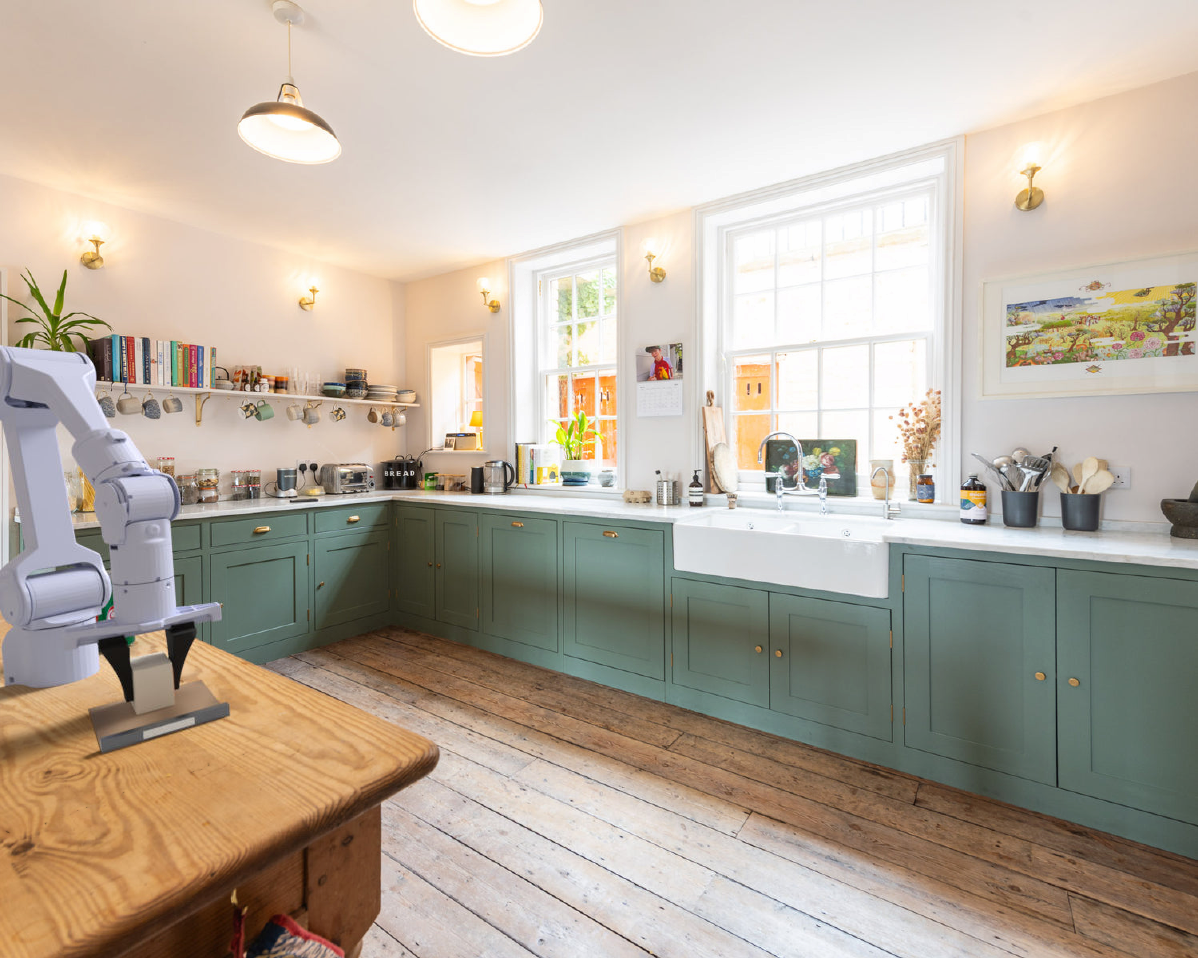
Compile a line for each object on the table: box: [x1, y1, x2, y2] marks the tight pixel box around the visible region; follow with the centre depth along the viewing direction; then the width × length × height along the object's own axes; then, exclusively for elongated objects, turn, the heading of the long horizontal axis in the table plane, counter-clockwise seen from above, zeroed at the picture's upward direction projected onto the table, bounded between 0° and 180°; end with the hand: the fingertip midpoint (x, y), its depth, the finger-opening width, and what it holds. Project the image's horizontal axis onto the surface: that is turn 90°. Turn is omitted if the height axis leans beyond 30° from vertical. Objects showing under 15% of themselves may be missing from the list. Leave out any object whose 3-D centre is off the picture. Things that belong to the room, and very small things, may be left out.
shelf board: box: [88, 679, 231, 754], centre depth 67 cm, size 11×14×2 cm
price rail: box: [99, 701, 231, 754], centre depth 62 cm, size 11×1×1 cm, turn 135°
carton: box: [130, 650, 175, 715], centre depth 69 cm, size 6×4×5 cm
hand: (152, 693), depth 69 cm, fingers closed on carton, 4 cm apart
